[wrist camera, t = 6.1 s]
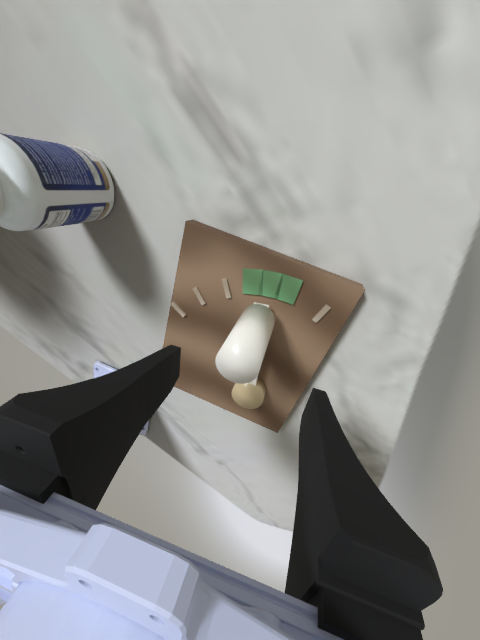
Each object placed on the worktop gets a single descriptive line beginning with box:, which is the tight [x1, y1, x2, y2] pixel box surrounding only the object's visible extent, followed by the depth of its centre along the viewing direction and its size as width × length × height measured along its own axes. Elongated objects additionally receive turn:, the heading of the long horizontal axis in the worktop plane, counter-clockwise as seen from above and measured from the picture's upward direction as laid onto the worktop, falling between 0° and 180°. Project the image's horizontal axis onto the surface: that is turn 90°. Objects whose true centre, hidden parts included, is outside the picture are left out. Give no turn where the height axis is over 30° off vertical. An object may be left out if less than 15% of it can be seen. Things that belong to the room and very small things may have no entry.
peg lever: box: [215, 302, 275, 409], centre depth 19 cm, size 11×3×7 cm, turn 174°
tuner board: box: [163, 220, 365, 433], centre depth 23 cm, size 17×14×1 cm
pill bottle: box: [0, 133, 114, 231], centre depth 17 cm, size 5×5×10 cm
